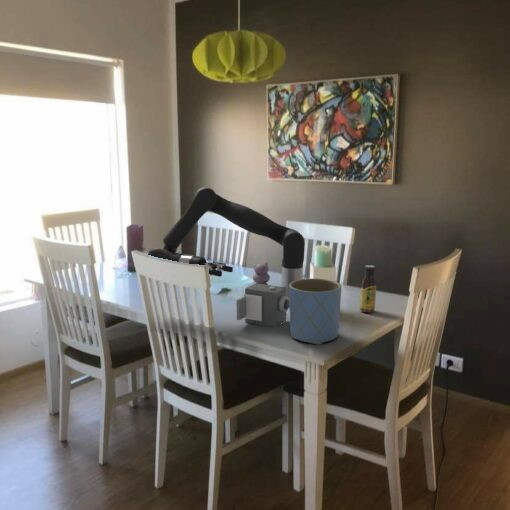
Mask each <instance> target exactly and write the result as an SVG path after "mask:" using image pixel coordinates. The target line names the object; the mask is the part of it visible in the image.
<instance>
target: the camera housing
mask: <svg viewBox="0 0 510 510" xmlns="http://www.w3.org/2000/svg"><path fill="white" fill-rule="evenodd" d="M244 294H250V295H256V296H262V321H257V320H251V319H245V318H244V322H245V323H248V322H250V323H249V324H254V323H255V324H256V325H260V324H261V325H260V326H265V325H267V326H268V327H271V326H273V327H272V328H278V327H280V326H281V325H282V324H284V323H285V322H286V321H287V311H289V309H290V307H289V298H288V297H286V287H282V286H278V285H271V284H268V285H264V284H257V283H256V282H254V284H251V285H249V286H248V287H246V288H244ZM284 321H285V322H284ZM283 322H284V323H283ZM281 323H282V324H281ZM280 324H281V325H280ZM267 326H266V327H267ZM277 326H278V327H277Z"/></svg>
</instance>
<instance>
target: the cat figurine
mask: <svg viewBox="0 0 510 510" xmlns="http://www.w3.org/2000/svg"><path fill="white" fill-rule="evenodd" d="M253 266H254V269H253V270H254V274H253V276H252V280H253V282H254V283H257V284H264V285H269V284H268V282H269V281H270V274H269V273H268V272H269V270H270V269H269V266H268V261H267V262H265V263H262V262H261V263H257V264H256V263H253Z"/></svg>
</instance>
